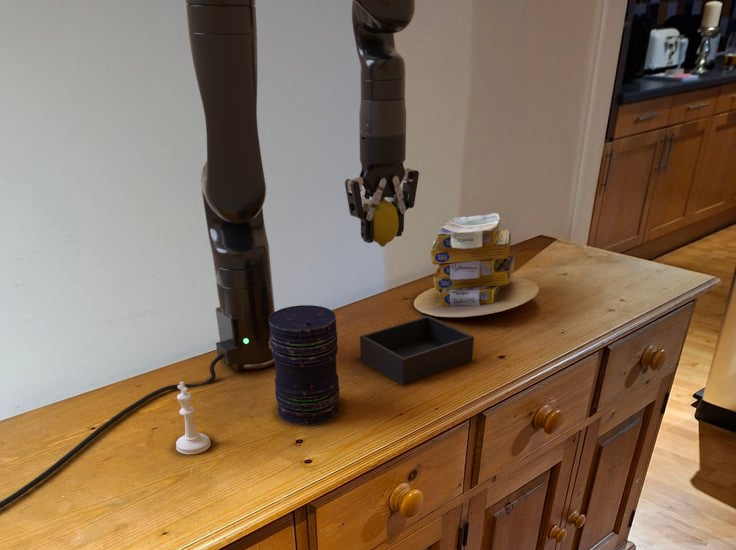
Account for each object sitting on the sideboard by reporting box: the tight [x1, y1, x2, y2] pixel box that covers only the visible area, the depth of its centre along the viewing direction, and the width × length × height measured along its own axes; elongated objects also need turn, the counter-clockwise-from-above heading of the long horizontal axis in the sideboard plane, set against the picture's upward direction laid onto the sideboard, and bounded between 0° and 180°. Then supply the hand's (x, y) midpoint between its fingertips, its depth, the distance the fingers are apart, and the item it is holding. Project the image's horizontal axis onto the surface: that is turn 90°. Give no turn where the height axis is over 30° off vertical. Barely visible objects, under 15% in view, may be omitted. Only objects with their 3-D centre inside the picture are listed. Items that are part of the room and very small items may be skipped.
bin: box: [359, 315, 475, 386], centre depth 122 cm, size 15×12×4 cm
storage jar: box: [269, 304, 341, 426], centre depth 105 cm, size 10×10×15 cm
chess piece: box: [175, 381, 211, 455], centre depth 99 cm, size 5×5×10 cm
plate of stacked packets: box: [413, 212, 540, 318], centre depth 139 cm, size 25×25×17 cm
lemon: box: [372, 198, 399, 248], centre depth 122 cm, size 6×6×8 cm
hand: (382, 238), depth 123 cm, fingers closed on lemon, 5 cm apart
